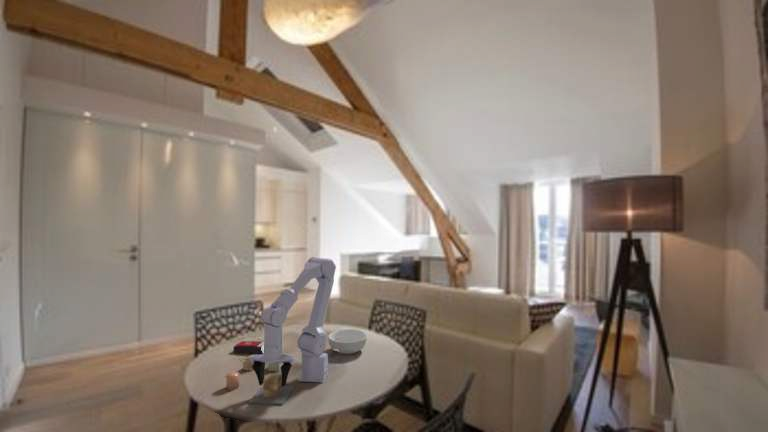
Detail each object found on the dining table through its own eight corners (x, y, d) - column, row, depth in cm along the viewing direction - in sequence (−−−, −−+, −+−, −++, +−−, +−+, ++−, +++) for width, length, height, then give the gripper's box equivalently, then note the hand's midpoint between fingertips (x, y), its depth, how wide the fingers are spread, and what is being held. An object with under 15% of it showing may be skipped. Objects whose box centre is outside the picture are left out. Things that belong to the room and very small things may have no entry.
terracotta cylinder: (241, 384, 121) (241, 372, 121) (235, 390, 117) (235, 377, 117) (230, 384, 122) (230, 371, 122) (224, 389, 118) (224, 376, 118)
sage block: (283, 366, 137) (283, 355, 137) (279, 371, 132) (279, 359, 132) (272, 366, 137) (272, 355, 137) (268, 370, 133) (268, 359, 133)
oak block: (281, 390, 116) (281, 374, 116) (276, 397, 112) (276, 380, 112) (268, 389, 117) (269, 373, 117) (263, 396, 112) (263, 379, 112)
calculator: (246, 336, 161) (276, 336, 159) (246, 346, 161) (277, 346, 159) (232, 345, 150) (265, 345, 148) (233, 355, 150) (265, 355, 148)
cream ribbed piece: (262, 368, 135) (262, 354, 135) (239, 373, 130) (240, 359, 130) (259, 364, 138) (259, 351, 139) (237, 369, 134) (237, 355, 134)
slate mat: (294, 388, 119) (294, 386, 119) (282, 405, 108) (282, 403, 108) (263, 386, 120) (263, 384, 120) (248, 403, 109) (248, 401, 109)
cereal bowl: (320, 352, 151) (320, 336, 151) (345, 341, 165) (345, 326, 165) (349, 362, 141) (350, 344, 141) (373, 349, 155) (374, 333, 155)
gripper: (246, 347, 111) (245, 389, 111) (290, 348, 110) (289, 391, 110) (256, 339, 118) (255, 379, 118) (297, 341, 117) (297, 381, 117)
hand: (272, 384), depth 114 cm, fingers open, 7 cm apart
